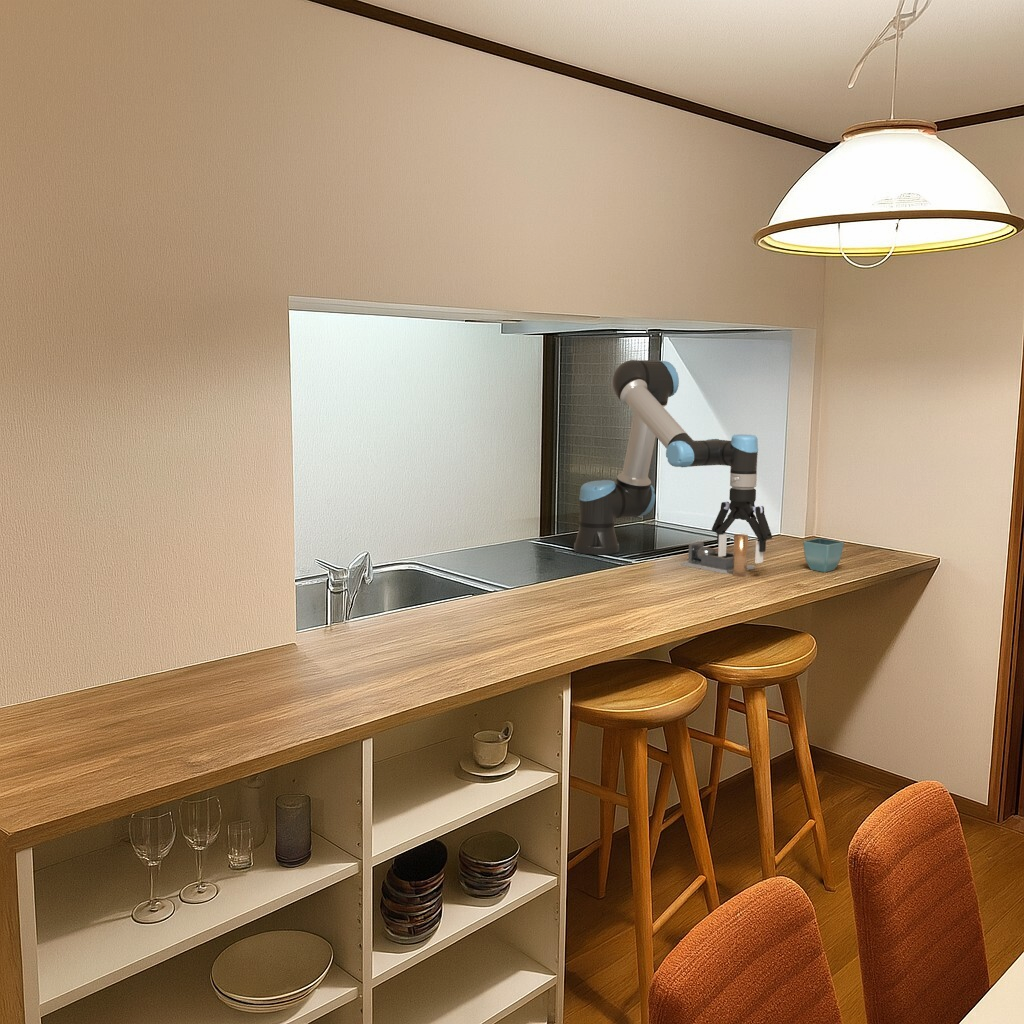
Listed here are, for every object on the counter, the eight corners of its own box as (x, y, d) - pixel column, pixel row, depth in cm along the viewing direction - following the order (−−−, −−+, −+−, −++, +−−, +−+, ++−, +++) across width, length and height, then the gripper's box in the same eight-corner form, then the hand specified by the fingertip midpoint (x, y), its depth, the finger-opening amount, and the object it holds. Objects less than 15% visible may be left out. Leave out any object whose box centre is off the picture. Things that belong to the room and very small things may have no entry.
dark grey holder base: (680, 564, 305) (680, 545, 304) (707, 559, 313) (708, 541, 312) (726, 573, 290) (727, 553, 290) (754, 568, 298) (755, 549, 298)
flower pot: (826, 574, 290) (828, 544, 289) (801, 570, 297) (802, 540, 296) (843, 570, 296) (844, 541, 295) (817, 566, 303) (819, 538, 301)
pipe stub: (729, 574, 289) (731, 534, 287) (738, 573, 291) (740, 533, 290) (740, 577, 286) (742, 536, 284) (749, 575, 288) (750, 535, 287)
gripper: (701, 484, 292) (699, 554, 295) (770, 492, 273) (767, 567, 276) (717, 483, 297) (715, 552, 300) (786, 490, 278) (783, 564, 281)
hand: (740, 559), depth 288 cm, fingers open, 13 cm apart
